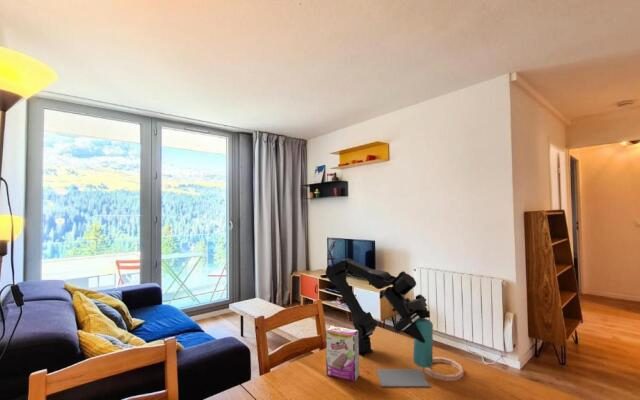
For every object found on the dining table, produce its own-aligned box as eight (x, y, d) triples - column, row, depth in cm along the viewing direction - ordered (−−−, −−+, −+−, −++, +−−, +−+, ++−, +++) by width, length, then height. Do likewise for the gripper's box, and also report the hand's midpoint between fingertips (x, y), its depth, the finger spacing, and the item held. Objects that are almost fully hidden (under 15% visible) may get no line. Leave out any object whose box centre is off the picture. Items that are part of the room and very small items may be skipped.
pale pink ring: (416, 369, 110) (416, 365, 110) (437, 357, 119) (436, 353, 119) (449, 385, 100) (449, 381, 100) (469, 371, 108) (469, 367, 108)
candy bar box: (325, 375, 108) (324, 330, 108) (331, 368, 113) (330, 324, 113) (355, 382, 103) (354, 335, 104) (360, 375, 108) (358, 329, 108)
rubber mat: (381, 387, 100) (381, 385, 100) (376, 370, 110) (376, 369, 110) (429, 387, 100) (429, 385, 100) (420, 370, 110) (420, 369, 110)
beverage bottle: (434, 373, 102) (436, 313, 104) (414, 371, 103) (416, 311, 105) (430, 365, 109) (431, 308, 110) (411, 362, 110) (413, 306, 111)
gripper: (401, 295, 102) (434, 336, 95) (421, 283, 117) (451, 318, 110) (381, 313, 107) (411, 353, 100) (402, 299, 122) (430, 334, 115)
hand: (427, 338), depth 106 cm, fingers closed on beverage bottle, 6 cm apart
